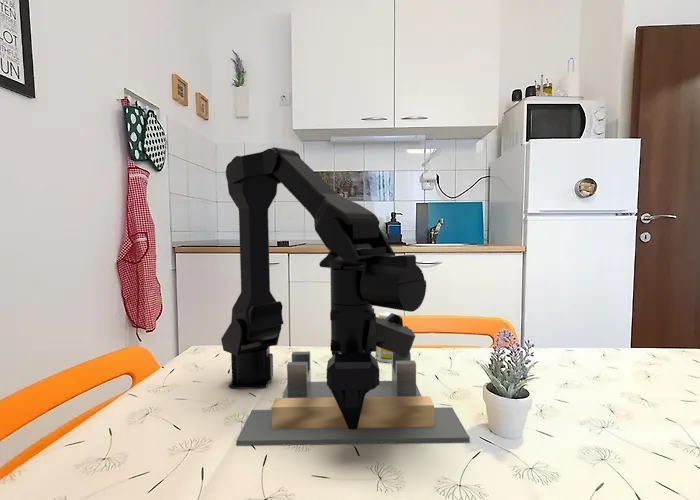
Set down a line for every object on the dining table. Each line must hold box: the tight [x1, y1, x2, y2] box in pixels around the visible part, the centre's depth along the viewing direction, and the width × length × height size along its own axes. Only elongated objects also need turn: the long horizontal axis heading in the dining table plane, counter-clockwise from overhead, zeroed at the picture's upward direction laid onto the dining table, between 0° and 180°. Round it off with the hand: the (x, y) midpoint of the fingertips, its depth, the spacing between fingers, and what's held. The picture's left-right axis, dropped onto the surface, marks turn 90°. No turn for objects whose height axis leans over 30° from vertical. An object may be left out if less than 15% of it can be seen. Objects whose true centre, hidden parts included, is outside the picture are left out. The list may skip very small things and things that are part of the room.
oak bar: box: [271, 395, 435, 429], centre depth 58 cm, size 22×3×3 cm, turn 91°
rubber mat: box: [235, 406, 471, 446], centre depth 58 cm, size 30×9×1 cm, turn 91°
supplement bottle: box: [375, 311, 399, 364], centre depth 88 cm, size 5×5×10 cm
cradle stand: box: [281, 350, 422, 398], centre depth 69 cm, size 22×8×6 cm, turn 91°
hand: (352, 412), depth 58 cm, fingers open, 9 cm apart
